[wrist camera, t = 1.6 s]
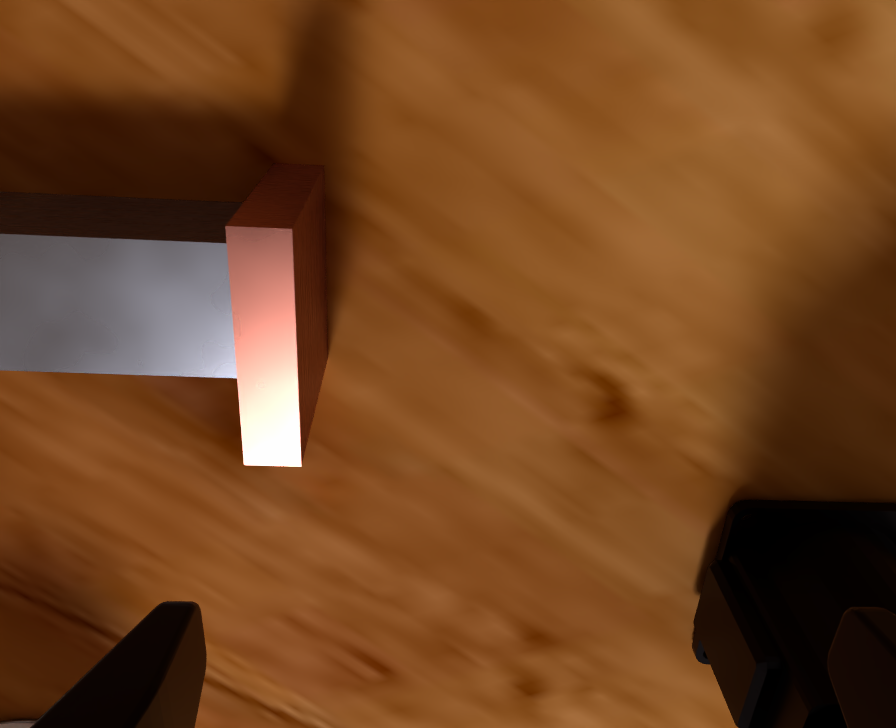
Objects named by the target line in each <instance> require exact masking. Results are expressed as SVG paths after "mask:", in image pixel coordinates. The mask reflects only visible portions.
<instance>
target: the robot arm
mask: <svg viewBox="0 0 896 728" xmlns="http://www.w3.org/2000/svg"><path fill="white" fill-rule="evenodd" d="M750 514H751V516H750V517H749V518H747V519H743V520H741V519H742V518H743V517H744V516H746V515H750ZM694 626H695V629H696V632H695V635H694V639H693V643H692V649H693V651H694V654H695V656H696V658H697V660H698V661H699V662H701V663H703V664H710V665H711V667H712V670H713V672H714V674H715V677H716V679H717V682H718V684H719V686H720V689H721V691H722V694H723V696H724V698H725V701H726V703H727V706H728V708H729V710H730V713H731V715H732V718H733V720H734V722H735V725H736V726H737V727H738V728H896V504H894V503H856V502H818V501H781V500H741V501H739V502H737V503H735V504H734V505H733V506H731V507H730V509H729V511H728V514H727V517H726V521H725V525H724V528H723V532H722V536H721V539H720V543H719V547H718V551H717V554H716V558H715V560H714V561H713V562H712V563H711V564H710V565H709V567H708V569H707V573H706V577H705V580H704V584H703V588H702V592H701V595H700V599H699V603H698V607H697V610H696V614H695V618H694ZM205 670H206V645H205V638H204V630H203V623H202V616H201V610H200V607H199V605H198V604H197V603H195V602H185V601H166V602H163V603H161V604H159V605H158V606H156V607H155V608H154V609H153V610H152V611H151V612H150V613H149V614H148V615H147V616H146V617H145V618H144V619H143V620H142V621H141V622H140V623H139V624H138V625H137V626H136V627H134V628H133V629H132V630H131V631H130V632H129V633H128V634H127V635H126V636H125V637H124V638H123V639H122V640H121V641H120V642H119V643H118V644H117V645H116V646H115V647H114V648H113V649H111V650H110V651H109V652H108V653H107V654H106V655H105V656H104V657H103V658H102V659H101V660H100V661H99V662H98V663H97V664H96V665H95V666H94V667H93V668H92V669H91V670H90V671H88V672H87V673H86V674H85V675H84V676H83V677H82V678H81V679H80V680H79V681H78V682H77V683H76V684H75V685H74V686H73V687H72V688H71V689H70V690H69V691H68V692H67V693H65V694H64V695H63V696H62V697H61V698H60V699H59V700H58V701H57V702H56V703H55V704H54V705H53V706H52V707H51V708H50V709H49V710H48V711H47V712H46V713H45V714H44V715H42V716H41V717H40V718H39V719H38V720H37V721H36V722H35V723H34V724H33V725H32V726H31V727H30V728H194V727H195V722H196V717H197V712H198V707H199V702H200V697H201V692H202V687H203V681H204V676H205Z"/></svg>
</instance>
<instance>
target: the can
mask: <svg viewBox="0 0 896 728" xmlns="http://www.w3.org/2000/svg"><path fill="white" fill-rule="evenodd" d="M36 721H37V720H33V719H17V720H8V721H2V722H0V728H30V727H31V726H32V725H33V724H34V723H35V722H36Z"/></svg>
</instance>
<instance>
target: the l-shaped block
mask: <svg viewBox="0 0 896 728" xmlns="http://www.w3.org/2000/svg"><path fill="white" fill-rule="evenodd" d="M327 360H328V340H327V285H326V230H325V175H324V166H322V165H301V164H280V163H274V164H273V165H272V167H271V168H270V169H269V171H268V172H267V173H266V174H265V176H264V177H263V178H262V180H261V181H260V182H259V183H258V185H257V186H256V187H255V189H254V190H253V191H252V192H251V194H250V195H249V196H248V198H247V199H246V200H245V201H244V203H240V202H218V201H196V200H174V199H151V198H129V197H107V196H85V195H63V194H40V193H18V192H0V370H11V371H41V372H71V373H101V374H131V375H161V376H191V377H221V378H237V381H238V394H239V407H240V419H241V432H242V445H243V457H244V465H264V466H300V467H301V466H302V462H303V457H304V453H305V449H306V445H307V441H308V437H309V433H310V429H311V425H312V421H313V417H314V413H315V408H316V404H317V400H318V396H319V392H320V388H321V384H322V380H323V376H324V372H325V368H326V364H327Z"/></svg>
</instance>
